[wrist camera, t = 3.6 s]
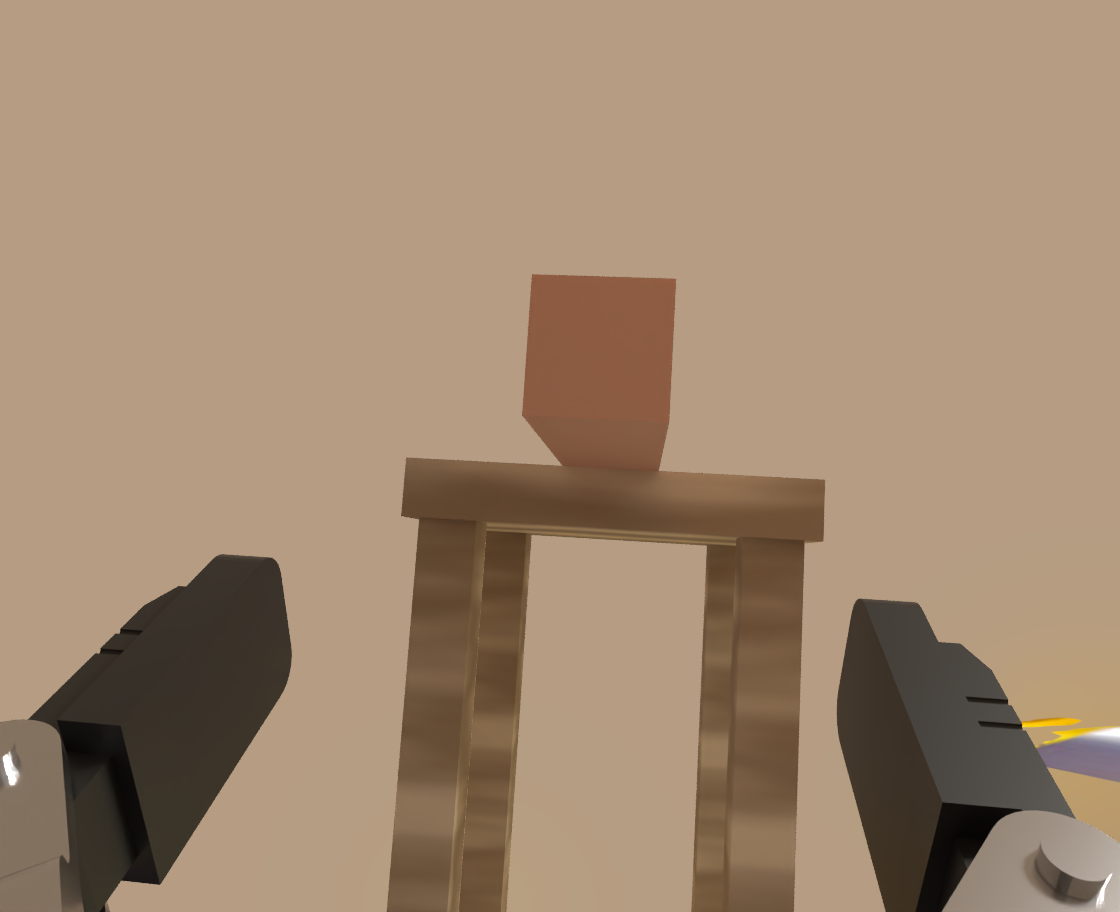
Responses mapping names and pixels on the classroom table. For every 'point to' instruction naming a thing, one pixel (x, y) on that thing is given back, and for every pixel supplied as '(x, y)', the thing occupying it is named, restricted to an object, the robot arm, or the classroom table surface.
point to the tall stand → (451, 656)
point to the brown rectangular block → (600, 368)
